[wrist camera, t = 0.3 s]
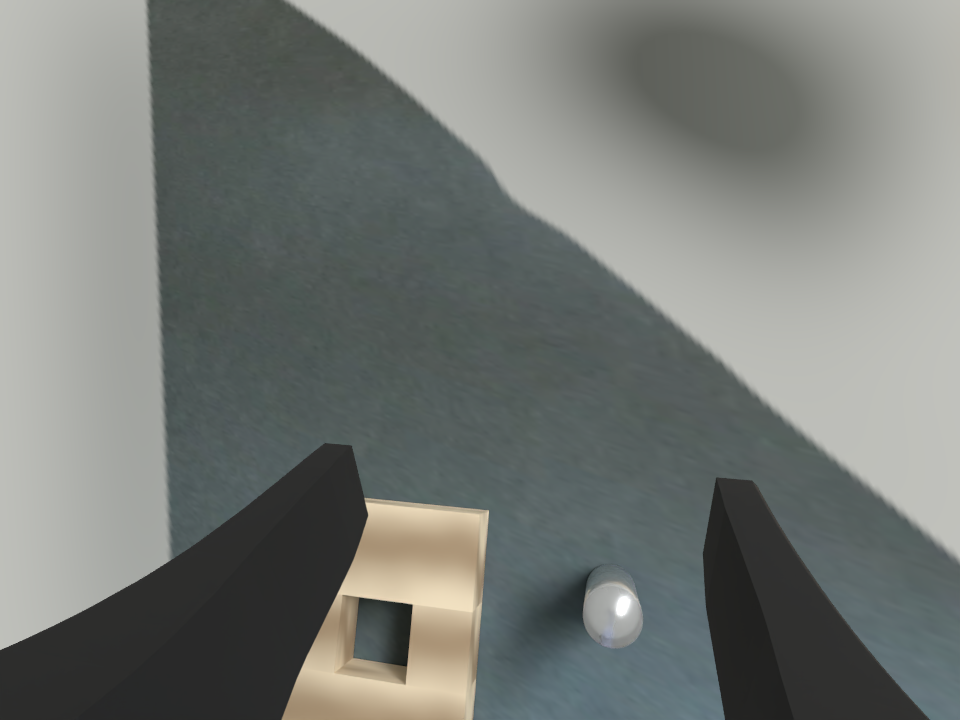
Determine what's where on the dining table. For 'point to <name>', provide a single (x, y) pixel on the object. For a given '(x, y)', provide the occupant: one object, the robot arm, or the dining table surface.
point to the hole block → (434, 627)
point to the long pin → (612, 607)
